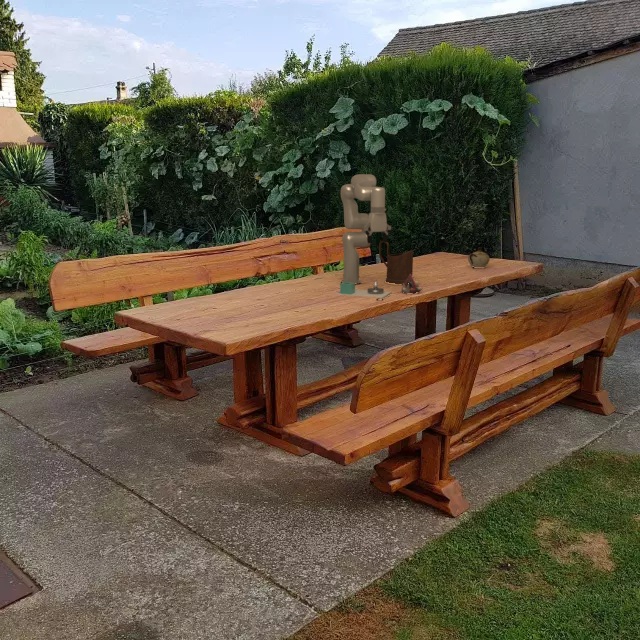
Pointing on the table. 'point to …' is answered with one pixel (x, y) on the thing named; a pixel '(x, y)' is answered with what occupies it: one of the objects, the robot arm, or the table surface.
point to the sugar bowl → (478, 258)
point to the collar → (347, 288)
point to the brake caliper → (411, 285)
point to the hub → (375, 289)
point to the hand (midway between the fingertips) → (377, 242)
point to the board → (367, 294)
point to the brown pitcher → (397, 266)
